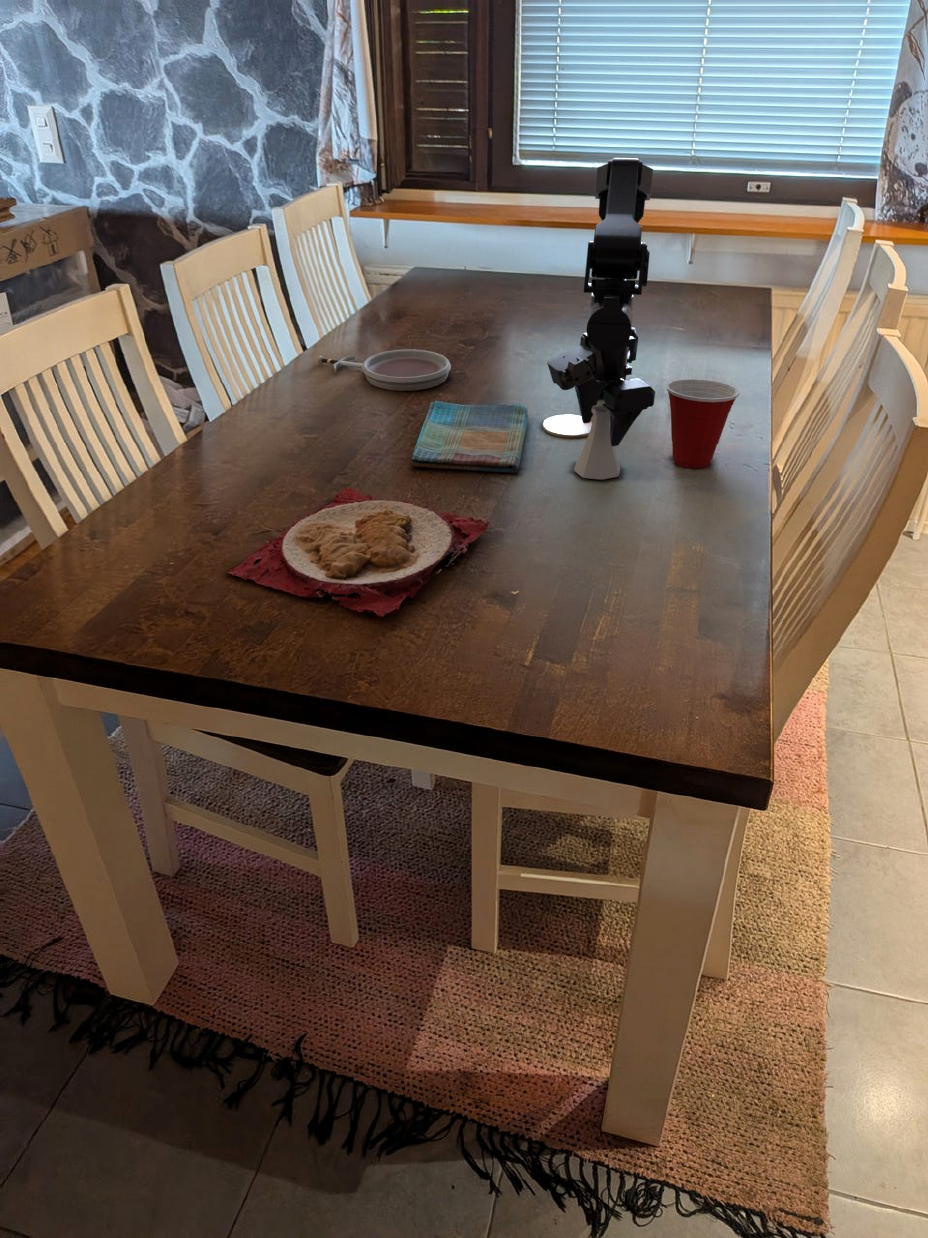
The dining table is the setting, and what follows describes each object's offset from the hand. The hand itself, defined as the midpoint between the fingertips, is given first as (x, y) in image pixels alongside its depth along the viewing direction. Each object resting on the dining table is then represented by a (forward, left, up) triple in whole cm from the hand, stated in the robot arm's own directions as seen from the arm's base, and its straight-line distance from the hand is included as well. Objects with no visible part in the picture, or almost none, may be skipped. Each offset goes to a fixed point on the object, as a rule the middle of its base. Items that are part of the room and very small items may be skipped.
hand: (600, 433), depth 136 cm
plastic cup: (-16, +2, -6) cm, 17 cm away
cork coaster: (-3, -17, -6) cm, 18 cm away
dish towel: (+14, -17, -6) cm, 23 cm away
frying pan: (+19, -54, -6) cm, 57 cm away
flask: (0, 0, -6) cm, 6 cm away
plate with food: (+40, +12, -6) cm, 42 cm away
